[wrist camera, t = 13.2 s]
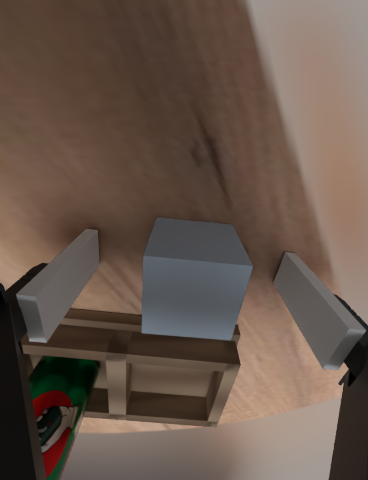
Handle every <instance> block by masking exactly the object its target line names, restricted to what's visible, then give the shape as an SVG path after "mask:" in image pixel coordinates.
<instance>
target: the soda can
mask: <svg viewBox="0 0 368 480" xmlns="http://www.w3.org/2000/svg"><path fill="white" fill-rule="evenodd" d="M98 375H99V370H98V367H97V364H96V362H95V360H89V359H78V358H67V357H56V356H45V355H43V356H42V357H41V359H40V360H39V362H38V363H37V365H36V366H35V368H34V369H33V371H32V372H31V374H30V375H29V377H28V380H29V385H30V390H31V396H32V401H33V407H34V412H35V418H36V423H37V429H38V434H39V439H40V445H41V450H42V456H43V461H44V467H45V472H46V477H47V480H60V479H61V477H62V474H63V471H64V468H65V466H66V463H67V460H68V458H69V455H70V452H71V449H72V446H73V444H74V441H75V438H76V436H77V433H78V430H79V427H80V425H81V422H82V419H83V416H84V414H85V411H86V408H87V405H88V403H89V400H90V397H91V395H92V392H93V389H94V386H95V384H96V381H97V378H98Z"/></svg>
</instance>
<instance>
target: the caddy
mask: <svg viewBox="0 0 368 480" xmlns="http://www.w3.org/2000/svg"><path fill="white" fill-rule="evenodd" d="M239 338H240V332H239V328H238V325H235V328H234V332H233V335H232V338H231V340H220V339H207V338H195V337H182V336H170V335H158V334H145V333H142V316H139V315H129V314H119V313H109V312H99V311H89V310H79V309H69V310H68V312H67V313H66V315H65V316H64V318H63V319H62V321H61V322H60V324H59V325H58V327H57V328H56V330H55V331H54V333H53V334H52V336H51V337H50V339H49V340H48V341H47V343H43V342H32V341H29V338H28V335H27V333H26V334H25V335H24V337H23V338H22V339H21V343H22V347H23V352H24V358H25V363H26V369H27V374H28V377H29V375H30V374H31V372H32V371H33V369H34V368H35V366H36V365H37V363H38V362H39V360H40V359H41V357H42V356H43V355H45V356H56V357H67V358H78V359H89V360H95V362H96V364H97V367H98V370H99V375H98V378H97V381H96V384H95V386H94V389H93V392H92V395H91V397H90V400H89V403H88V405H87V408H86V411H85V414H84V416H83V417H90V418H103V419H116V420H128V421H141V422H154V423H167V424H179V425H192V426H205V427H217V424H218V422H219V419H220V416H221V414H222V411H223V409H224V406H225V404H226V401H227V399H228V396H229V393H230V391H231V388H232V386H233V383H234V381H235V378H236V376H237V373H238V371H239V368H240V365H241V364H240V360H239V355H238V351H237V344H238V341H239Z"/></svg>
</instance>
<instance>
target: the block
mask: <svg viewBox="0 0 368 480" xmlns="http://www.w3.org/2000/svg"><path fill="white" fill-rule="evenodd" d="M252 269H253V265H252V263H251V261H250V259H249V257H248V255H247V253H246V251H245V249H244V247H243V245H242V243H241V241H240V239H239V237H238V235H237V233H236V231H235V229H234V227H233V225H231V224H221V223H212V222H202V221H192V220H182V219H173V218H163V217H157V218H156V221H155V224H154V227H153V229H152V232H151V235H150V238H149V241H148V244H147V247H146V249H145V252H144V255H143V291H142V333H145V334H158V335H170V336H182V337H195V338H207V339H220V340H231V338H232V335H233V332H234V328H235V325H236V322H237V318H238V315H239V312H240V308H241V305H242V302H243V298H244V295H245V292H246V288H247V285H248V282H249V279H250V275H251V272H252Z"/></svg>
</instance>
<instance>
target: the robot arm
mask: <svg viewBox="0 0 368 480" xmlns="http://www.w3.org/2000/svg"><path fill="white" fill-rule="evenodd" d="M99 264H100V260H99V243H98V230H94V229H85V230H84V231H83V232H82V233H81V234H80V235H79V236H78V237H77V238H76V239H75V240H74V241H73V242H71V243H70V244H69V245H68V246H67V247H66V248H65V249H64V250H63V251H62V252H61V253H60V254H59V255H58V256H57V257H55V258H54V259H53V260H52V261H51V262H50V263H49V264H48V263H41V264H39V265H37V266H35V267H33V268H32V269H30V270H29V271H28V272H27V273H26V274H25V275H24V276H22V277H21V278H20V280H18V281H17V282H15V283H14V284H13V285H12V286H11V287H10V288H8V289H7V290H6V291H5V289H4V286H3V285H2V284H1V283H0V480H47V477H46V472H45V467H44V461H43V456H42V450H41V445H40V439H39V434H38V429H37V423H36V418H35V412H34V407H33V401H32V396H31V390H30V385H29V380H28V374H27V369H26V363H25V358H24V352H23V347H22V343H21V339H22V338H23V337H24V335H25V334H26V333H27V335H28V338H29V341H32V342H43V343H47V341H48V340H49V339H50V337H51V336H52V334H53V333H54V331H55V330H56V328H57V327H58V325H59V324H60V322H61V321H62V319H63V318H64V316H65V315H66V313H67V312H68V310H69V309H70V307H71V306H72V304H73V303H74V301H75V300H76V298H77V297H78V295H79V294H80V293H81V291H82V290H83V288H84V287H85V285H86V284H87V282H88V281H89V279H90V278H91V276H92V275H93V273H94V272H95V270H96V269H97V267H98V266H99ZM273 284H274V286H275V287H276V289H277V291H278V293H279V294H280V296H281V298H282V299H283V301H284V303H285V305H286V306H287V308H288V310H289V311H290V313H291V315H292V317H293V318H294V320H295V322H296V324H297V325H298V327H299V329H300V330H301V332H302V334H303V336H304V337H305V339H306V341H307V342H308V344H309V346H310V348H311V349H312V351H313V353H314V354H315V356H316V358H317V360H318V361H319V363H320V365H321V367H322V368H323V369H331V370H338V369H339V368H340V366H341V365H342V364H343V362H344V363H345V364H346V366H347V367H348V368H349V370H348V371H347V372H346V374H345V375H344V376H343V378H342V379H341V380H340V382H339V383H338V384H339V385H342V383H344V386H343V392H342V399H341V406H340V412H339V418H338V424H337V431H336V437H335V443H334V450H333V456H332V463H331V469H330V475H329V480H368V325H367V324H366V323H365V322H364V321H363V320H362V319H361V318H360V317H359V316H358V315H357V314H356V313H355V312H354V311H353V310H352V309H351V308H350V306H349V305H348V304H347V303H346V302H345V301H344V300H342V299H341V298H339V297H338V296H337V295H335V294H332V292H331V291H330V290H329V289H328V288H327V287H326V286H325V285H324V284H323V283H322V282H321V280H320V279H319V278H318V277H317V276H316V275H315V274H314V273H313V272H312V271H311V270H310V268H309V267H308V266H307V265H306V264H305V263H304V262H303V261H302V260H301V259H300V258H299V256H298V255H297V254H296V253H289V252H285V254H284V256H283V259H282V261H281V264H280V267H279V269H278V272H277V274H276V277H275V280H274V282H273Z"/></svg>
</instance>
